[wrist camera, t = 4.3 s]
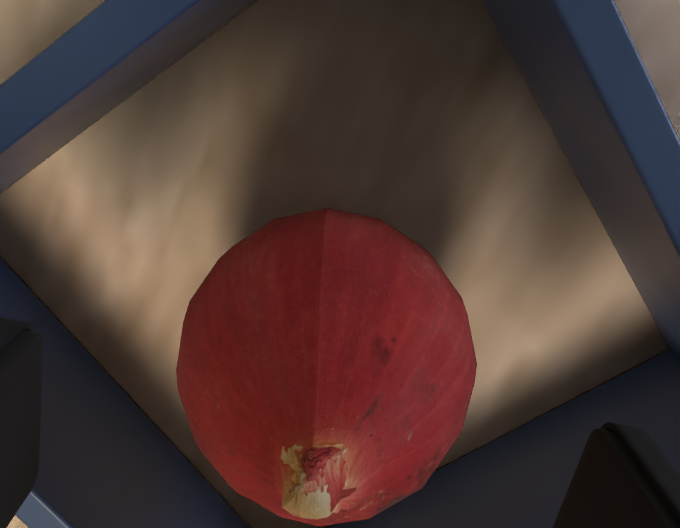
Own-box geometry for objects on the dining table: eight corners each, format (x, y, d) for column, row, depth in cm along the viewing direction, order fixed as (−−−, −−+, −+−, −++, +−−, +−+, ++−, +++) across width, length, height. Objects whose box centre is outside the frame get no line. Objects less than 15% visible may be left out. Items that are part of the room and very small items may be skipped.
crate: (-80, 210, 15) (-244, 280, 11) (429, -185, 12) (475, -300, 8) (269, 579, 19) (249, 733, 15) (709, 355, 16) (835, 468, 12)
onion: (484, 315, 16) (607, 566, 9) (304, 417, 17) (273, 716, 10) (363, 128, 14) (387, 236, 7) (172, 255, 15) (12, 467, 8)
